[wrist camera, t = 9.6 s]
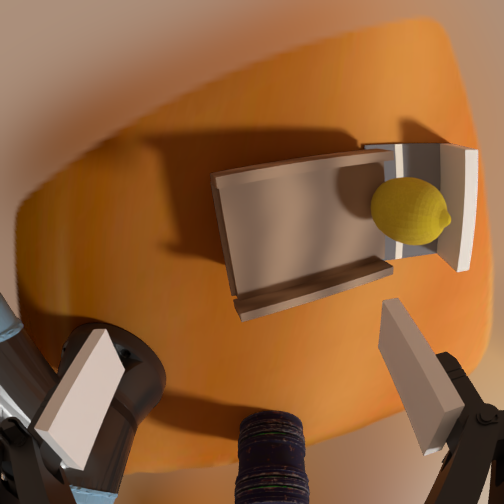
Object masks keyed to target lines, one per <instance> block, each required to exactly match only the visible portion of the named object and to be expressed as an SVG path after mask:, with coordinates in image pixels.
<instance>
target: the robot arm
mask: <svg viewBox="0 0 504 504" xmlns="http://www.w3.org/2000/svg"><path fill="white" fill-rule="evenodd" d="M23 326H24V325H23V324H22V322H21V320H20V319H19V318H17V317H16V316H15V314H14V313H13V311H12V310H11V308H10V307H9V305H8V304H7V302H6V300H5V299H4V297H3V296H2V294H1V293H0V504H113V503H114V500H115V498H117V497H118V496H117V495H118V491H119V487H120V484H121V480H122V477H123V473H124V470H125V466H126V463H127V460H128V456H129V453H130V449H131V446H132V443H133V440H134V436H135V433H136V430H137V428H138V426H139V424H140V423H141V422H142V421H143V420H144V418H145V417H146V416H147V415H148V414H149V412H150V411H151V410H152V409H153V408H154V407H155V406H156V405H157V404H158V403H159V401H160V399H161V397H162V395H163V392H164V388H165V385H166V374H165V370H164V367H163V365H162V363H161V361H160V360H159V358H158V357H157V356H156V354H155V353H154V352H153V351H152V350H151V349H150V348H149V347H148V346H147V345H146V344H145V343H144V342H142V341H141V340H140V339H138V338H137V337H136V336H134V335H132V334H131V333H129V332H127V331H125V330H123V329H120V328H118V327H115V326H112V325H108V324H103V323H88V324H84V325H81V326H79V327H77V328H76V329H75V330H74V331H73V332H72V333H71V335H70V336H69V337H68V339H67V340H66V342H65V343H64V346H63V349H62V354H61V361H60V364H59V368H58V373H57V374H56V373H55V371H54V370H53V369H52V367H51V366H50V365H49V363H48V362H47V361H46V359H45V358H44V357H43V355H42V354H41V352H40V351H39V350H38V348H37V347H36V345H35V344H34V342H33V341H32V339H31V338H30V337H29V335H28V334H27V332H26V330H25V329H24V327H23ZM378 348H379V350H380V352H381V354H382V356H383V359H384V361H385V363H386V365H387V368H388V370H389V372H390V374H391V377H392V379H393V381H394V384H395V386H396V388H397V391H398V393H399V395H400V398H401V400H402V403H403V405H404V407H405V410H406V412H407V415H408V417H409V419H410V422H411V425H412V427H413V430H414V432H415V435H416V437H417V440H418V443H419V445H420V448H421V450H422V453H423V456H425V455H428V454H431V453H434V452H437V451H440V450H442V448H443V446H444V444H445V443H447V445H448V447H449V451H448V453H447V454H446V456H445V458H444V459H443V461H442V463H443V465H442V467H441V469H440V472H439V474H438V476H437V478H436V481H435V483H434V485H433V487H432V489H431V491H430V493H429V495H428V497H427V499H426V501H425V503H424V504H477V503H478V500H479V498H480V495H481V492H482V489H483V486H484V484H485V481H486V478H487V474H488V471H489V468H490V465H491V478H490V490H489V500H488V504H504V410H498V409H497V408H496V407H495V406H493V405H491V404H486V403H484V402H483V400H482V399H481V397H480V396H479V394H478V392H477V391H476V389H475V387H474V386H473V384H472V383H471V381H470V380H469V378H468V376H466V373H465V372H464V370H463V369H462V367H461V365H460V364H459V362H458V361H457V359H456V358H455V357H453V356H452V355H450V354H449V353H448V352H443V353H439V354H436V355H435V354H434V352H433V350H432V349H431V347H430V346H429V344H428V342H427V341H426V339H425V338H424V336H423V335H422V333H421V332H420V330H419V329H418V327H417V325H416V324H415V322H414V321H413V319H412V318H411V316H410V315H409V313H408V312H407V310H406V309H405V307H404V306H403V305H402V303H401V302H400V300H399V299H398V298H394V299H389V300H383V303H382V315H381V326H380V335H379V344H378ZM1 473H2V474H3V478H4V480H2V479H1Z"/></svg>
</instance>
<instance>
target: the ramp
mask: <svg viewBox="0 0 504 504" xmlns="http://www.w3.org/2000/svg"><path fill="white" fill-rule="evenodd" d="M391 160H394V151H391V150H384V149H377V148H376V149H366V150H356V151H348V152H339V153H331V154H323V155H316V156H308V157H301V158H295V159H288V160H282V161H275V162H269V163H263V164H257V165H252V166H246V167H241V168H235V169H230V170H224V171H219V172H214V173H210V177H211V182H210V183H211V188H212V194H213V200H214V205H215V211H216V216H217V222H218V227H219V233H220V238H221V243H222V249H223V254H224V259H225V264H226V270H227V275H228V280H229V285H230V290H231V295H232V296H235V295H236V296H237V298H238V299H234V300H233V301H234V306H235V309H236V311H237V313H238V315H239V317H240V319H241V321H242V322H244V321H248V320H251V319H255V318H258V317H262V316H265V315H269V314H272V313H275V312H279V311H282V310H285V309H289V308H292V307H295V306H299V305H302V304H305V303H308V302H311V301H315V300H318V299H321V298H324V297H327V296H330V295H333V294H336V293H339V292H343V291H346V290H349V289H352V288H354V287H357V286H360V285H363V284H366V283H369V282H372V281H375V280H378V279H381V278H383V277H386V276H389V275H392V274H393V266H392V265H390V264H388V263H387V262H385V261H384V260H382V259H384V258H385V234H384V233H382V232H381V231H380V230H379V229H378V228H377V226H376V225H375V223H374V221H373V218H372V215H371V200H372V197H373V194H374V193H375V191H376V189H377V188H378V187H379V186H380V185H381V184H382V183H384V182H385V175H384V161H391Z"/></svg>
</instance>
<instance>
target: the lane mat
mask: <svg viewBox="0 0 504 504" xmlns="http://www.w3.org/2000/svg"><path fill="white" fill-rule="evenodd" d="M440 144H444V143H410V144H402V151H403V177H413V178H418V179H421V180H424V181H426V182H428V183H430V184H432V185H433V186H435V187H436V188H437V189H438V190H439V192H440V184H441V164H440ZM446 144H447V143H446ZM376 148H377V149H384V150H391V151H394V160H391V161H384V175H385V182H386V181H388V180H390V179H394V178H396V160H395V144H379V145H364V150H366V149H376ZM437 244H438V237H437V238H436V239H435V240H433V241H432V242H430V243H427V244H423V245H407V244H403V248H402V258H406V257H413V256H420V255H427V254H434V253H437ZM395 253H396V241H395V240H393V239H391V238H389V237H388V236H386V235H385V258H384V259H382V260H392V259H395Z"/></svg>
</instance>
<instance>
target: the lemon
mask: <svg viewBox="0 0 504 504" xmlns="http://www.w3.org/2000/svg"><path fill="white" fill-rule="evenodd" d="M371 215H372V218H373V221H374V223H375V225H376V226H377V228H378V229H379V230H380V231H381V232H382V233H384V234H385V235H386V236H388V237H389V238H391V239H393V240H395V241H397V242H400V243H403V244H407V245H423V244H427V243H430V242H432V241H433V240H435V239H436V238H437V237H438V236H439V235H440V234H441V233H442V231H443V229H444V228H445V227H447V226H448V225H449V224H450V223H451V216H450V214H449V213H448V211H447V205H446V202H445V200H444V197H443V196H442V194H441V193H440V192H439V190H438V189H437V188H436V187H435V186H433V185H432V184H430V183H428V182H426V181H424V180H421V179H418V178H413V177H401V178H394V179H390V180H388V181H386V182H384V183H382V184H381V185H380V186H379V187H378V188H377V189H376V191H375V193H374V194H373V197H372V200H371Z"/></svg>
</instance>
